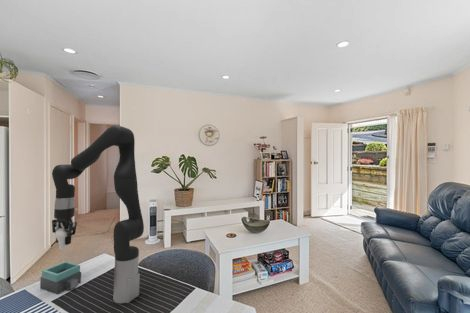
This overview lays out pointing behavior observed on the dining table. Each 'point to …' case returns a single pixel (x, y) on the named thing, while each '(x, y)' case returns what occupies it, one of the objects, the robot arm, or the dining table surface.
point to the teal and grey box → (60, 277)
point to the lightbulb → (61, 239)
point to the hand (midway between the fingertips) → (63, 243)
